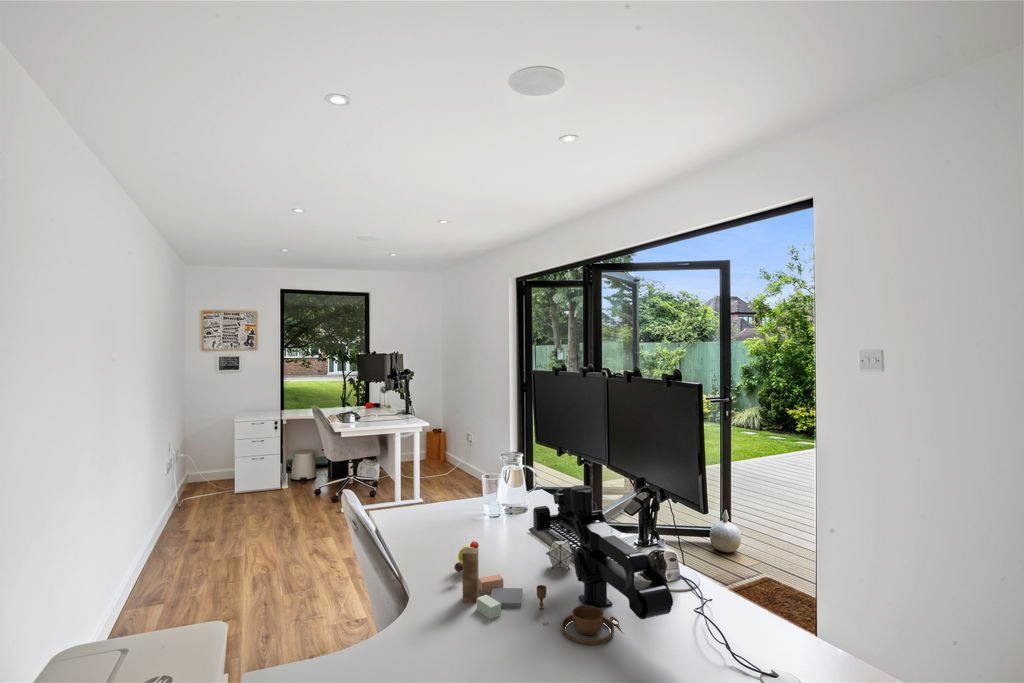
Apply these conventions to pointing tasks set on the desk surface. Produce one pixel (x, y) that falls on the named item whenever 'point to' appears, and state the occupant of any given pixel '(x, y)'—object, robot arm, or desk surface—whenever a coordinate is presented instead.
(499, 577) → the terracotta brick
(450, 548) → the desk surface
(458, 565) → the toy figure
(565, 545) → the game die
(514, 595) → the slate coaster
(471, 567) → the walnut block
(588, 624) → the place setting
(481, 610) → the sage brick
